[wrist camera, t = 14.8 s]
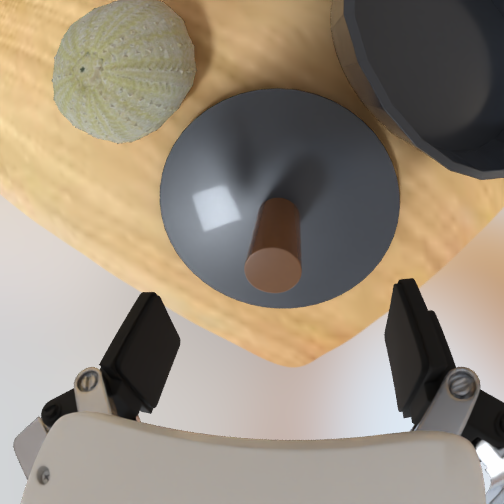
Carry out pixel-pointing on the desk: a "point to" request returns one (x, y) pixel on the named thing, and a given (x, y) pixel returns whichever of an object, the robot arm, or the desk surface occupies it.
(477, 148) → the pot
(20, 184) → the desk surface
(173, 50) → the sea urchin shell
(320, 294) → the pot lid
